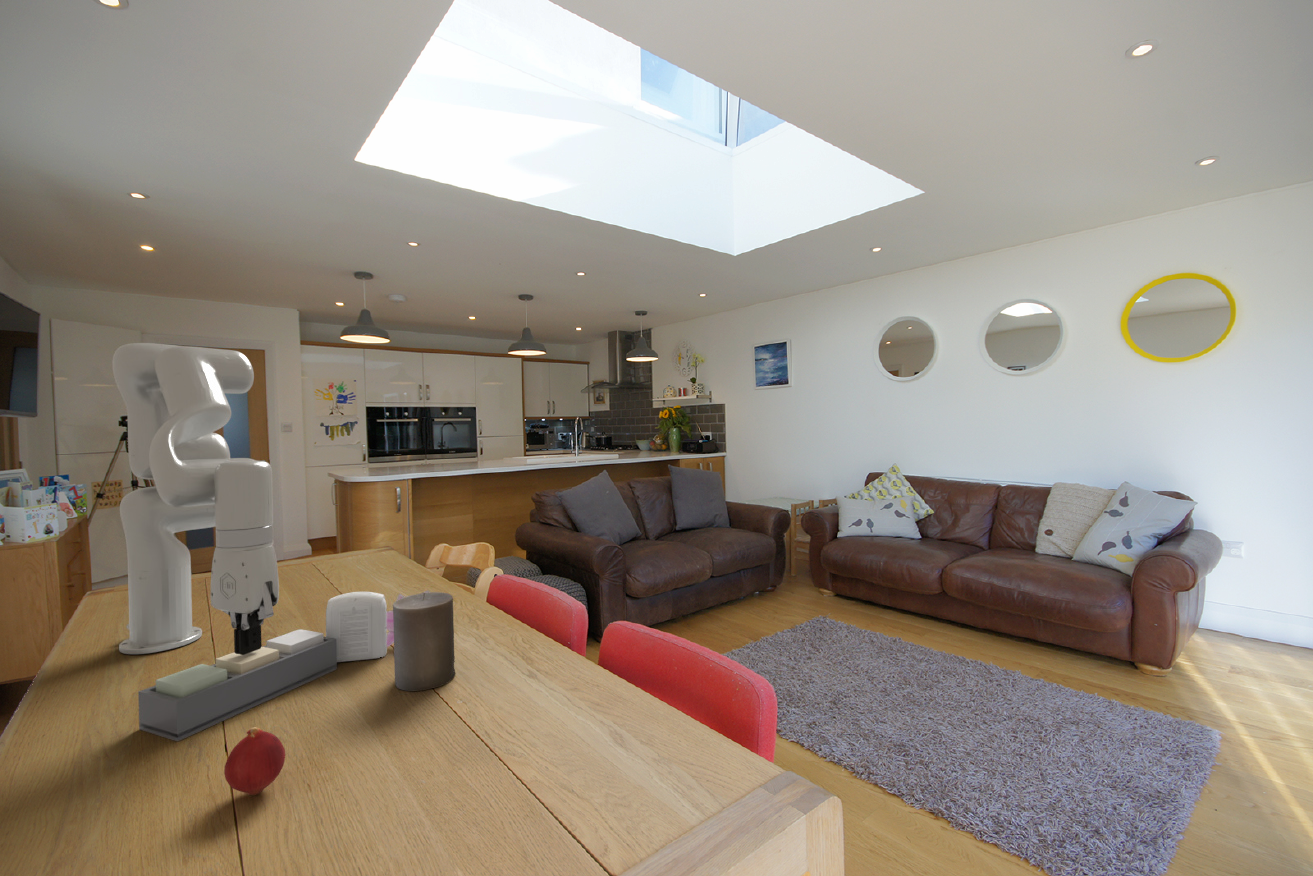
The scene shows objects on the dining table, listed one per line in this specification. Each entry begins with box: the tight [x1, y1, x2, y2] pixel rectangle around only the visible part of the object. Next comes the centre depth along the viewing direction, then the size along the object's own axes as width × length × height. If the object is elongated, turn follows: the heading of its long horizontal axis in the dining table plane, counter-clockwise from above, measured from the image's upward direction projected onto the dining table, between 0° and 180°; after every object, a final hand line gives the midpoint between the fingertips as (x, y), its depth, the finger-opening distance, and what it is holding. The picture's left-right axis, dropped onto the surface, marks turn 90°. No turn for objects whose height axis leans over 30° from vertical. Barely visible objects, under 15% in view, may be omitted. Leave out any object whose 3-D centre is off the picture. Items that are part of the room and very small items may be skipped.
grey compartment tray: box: [137, 636, 338, 742], centre depth 91 cm, size 9×25×6 cm, turn 159°
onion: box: [223, 726, 286, 796], centre depth 67 cm, size 6×6×8 cm
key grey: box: [266, 628, 325, 655], centre depth 99 cm, size 6×6×4 cm
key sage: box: [155, 663, 227, 698], centre depth 84 cm, size 6×6×4 cm
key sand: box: [215, 646, 279, 675], centre depth 91 cm, size 6×6×4 cm
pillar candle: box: [392, 591, 456, 692], centre depth 97 cm, size 10×10×15 cm
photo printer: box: [325, 591, 388, 663], centre depth 106 cm, size 10×4×12 cm, turn 106°
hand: (248, 651), depth 91 cm, fingers closed
